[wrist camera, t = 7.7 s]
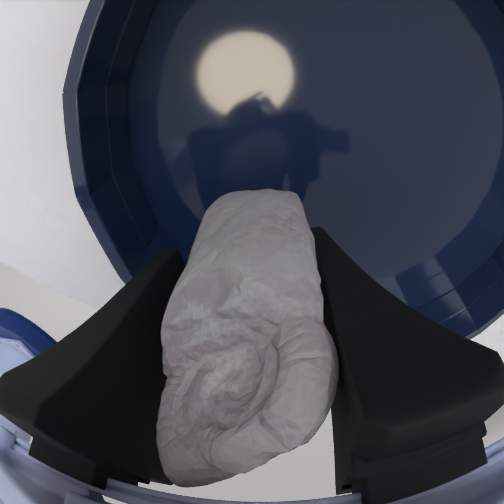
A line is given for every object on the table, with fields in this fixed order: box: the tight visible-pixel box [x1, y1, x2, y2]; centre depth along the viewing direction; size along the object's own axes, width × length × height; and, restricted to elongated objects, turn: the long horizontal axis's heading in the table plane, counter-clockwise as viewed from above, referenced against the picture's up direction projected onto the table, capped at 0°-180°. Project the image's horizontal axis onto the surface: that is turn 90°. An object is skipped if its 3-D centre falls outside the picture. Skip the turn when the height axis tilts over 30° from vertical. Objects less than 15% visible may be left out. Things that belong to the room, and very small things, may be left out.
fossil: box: [156, 189, 339, 487], centre depth 8 cm, size 6×4×10 cm, turn 155°
